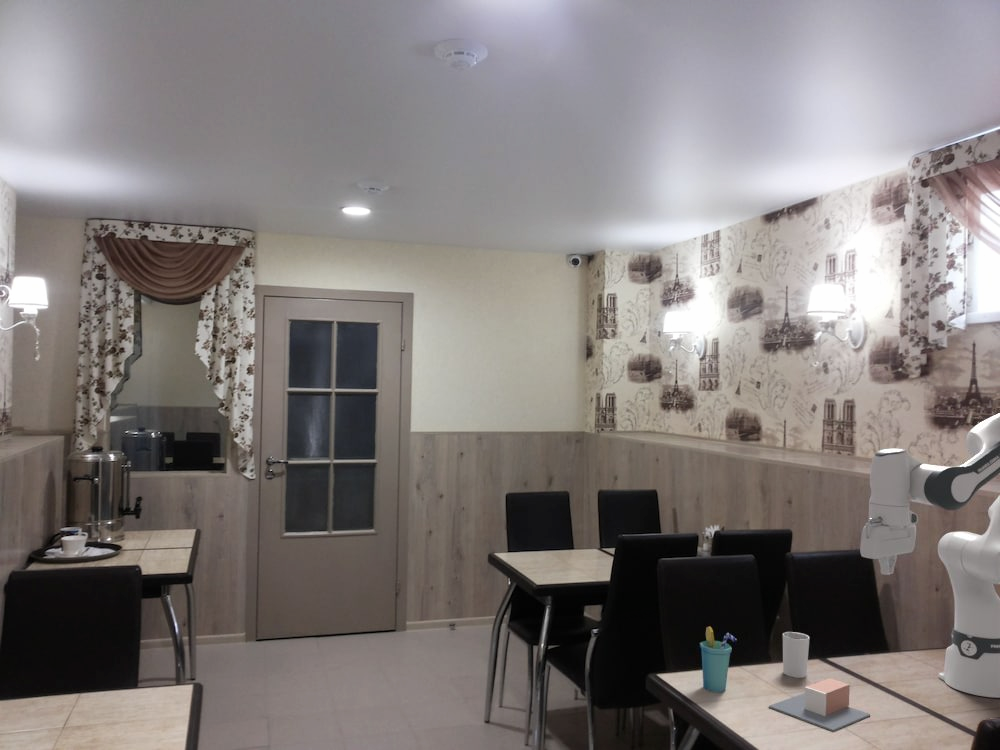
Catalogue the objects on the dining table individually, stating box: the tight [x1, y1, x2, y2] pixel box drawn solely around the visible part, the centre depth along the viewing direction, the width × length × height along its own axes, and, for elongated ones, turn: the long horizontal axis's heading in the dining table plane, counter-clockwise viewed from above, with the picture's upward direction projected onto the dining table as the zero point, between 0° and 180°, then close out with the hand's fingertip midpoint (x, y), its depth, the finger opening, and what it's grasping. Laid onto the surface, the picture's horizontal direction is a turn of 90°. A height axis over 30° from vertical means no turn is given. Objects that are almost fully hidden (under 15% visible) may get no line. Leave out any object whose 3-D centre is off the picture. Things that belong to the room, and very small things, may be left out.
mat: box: [768, 692, 871, 733], centre depth 189 cm, size 16×16×1 cm
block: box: [804, 677, 851, 716], centre depth 191 cm, size 5×5×11 cm
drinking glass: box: [782, 631, 810, 679], centre depth 215 cm, size 7×7×10 cm
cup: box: [699, 626, 738, 693], centre depth 201 cm, size 14×8×15 cm, turn 20°
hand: (887, 573), depth 196 cm, fingers closed
